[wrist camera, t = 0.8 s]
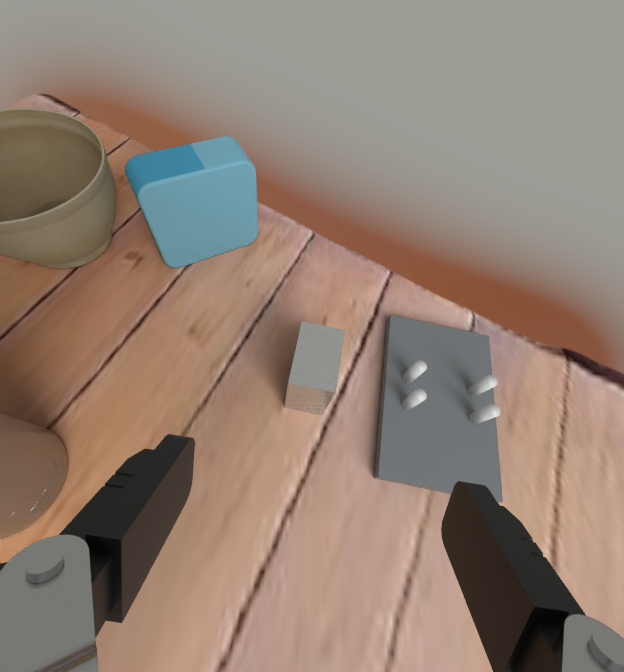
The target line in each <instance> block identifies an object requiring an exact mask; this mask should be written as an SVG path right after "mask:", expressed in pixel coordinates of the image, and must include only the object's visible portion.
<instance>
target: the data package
mask: <svg viewBox="0 0 624 672" xmlns="http://www.w3.org/2000/svg"><path fill="white" fill-rule="evenodd" d="M125 172H126V176H127V178H128V180H129V182H130V185H131V187H132V189H133V192H134V194H135V196H136V198H137V201H138V203H139V205H140V208H141V210H142V212H143V215H144V217H145V219H146V221H147V224H148V226H149V228H150V231H151V233H152V235H153V237H154V240H155V242H156V244H157V246H158V248H159V250H160V253H161V255H162V257H163V259H164V261H165V263H166V264H167V265H168V266H170V267H175V268H178V267H183V266H186V265H189V264H192V263H195V262H198V261H201V260H204V259H207V258H210V257H213V256H216V255H219V254H222V253H225V252H228V251H231V250H234V249H237V248H240V247H243V246H246V245H249V244H251V243H252V242H253V241H254V240H255V239H256V238H257V236H258V211H257V190H256V170H255V167H254V165H253V164H252V162H251V161H250V159H249V158H248V156H247V155H246V154H245V152H244V151H243V149H242V148H241V146H240V145H239V143H238V142H237V141H236V140H235V139H234V138H232V137H229V136H223V137H219V138H214V139H210V140H205V141H200V142H196V143H191V144H187V145H182V146H178V147H173V148H168V149H164V150H159V151H155V152H150V153H145V154H141V155H137V156H134V157H132V158H131V159H130V160H129V161H128V162H127V164H126V167H125Z"/></svg>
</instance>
